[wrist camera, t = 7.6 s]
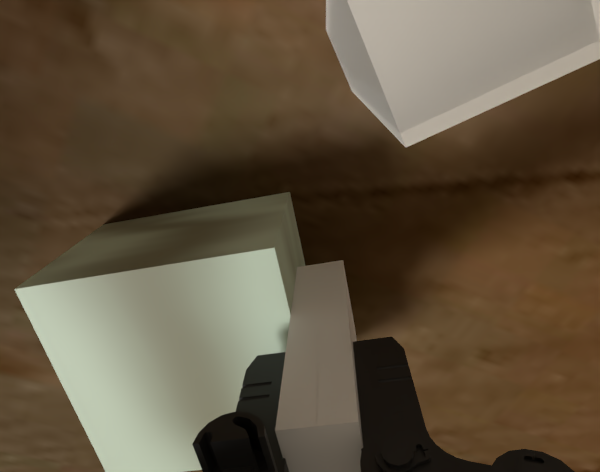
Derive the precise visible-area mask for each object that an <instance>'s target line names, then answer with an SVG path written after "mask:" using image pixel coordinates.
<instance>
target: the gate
mask: <svg viewBox="0 0 600 472" xmlns="http://www.w3.org/2000/svg"><path fill="white" fill-rule="evenodd" d="M326 31H327V34H328V36H329V38H330V41H331V43H332V45H333V48H334V50H335V52H336V55H337V57H338V60H339V62H340V64H341V67H342V69H343V71H344V74H345V76H346V78H347V81H348V83H349V86H350V88H351V90H352V92H353V93H354V94H355V95H356V96H357V97H358V98H359V99H360V100H361V101H362V102H363V103H364V104H365V105H366V107H367V108H368V109H369V110H370V111H371V112H372V113H373V114H374V115H375V116H376V117H377V118H378V119H379V120H380V121H381V122H382V123H383V124H384V125H385V126H386V127H387V129H388V130H389V131H390V132H391V133H392V134H393V135H394V136H395V137H396V138H397V139H398V140H399V141H400V142H401V143H402V144H403V145H404V146H405V147H408V146H410V145H413V144H415V143H417V142H419V141H421V140H424V139H426V138H428V137H430V136H432V135H435V134H437V133H439V132H441V131H443V130H446V129H448V128H450V127H452V126H454V125H456V124H459V123H461V122H463V121H465V120H467V119H470V118H472V117H474V116H476V115H478V114H481V113H483V112H485V111H487V110H489V109H491V108H494V107H496V106H498V105H500V104H502V103H505V102H507V101H509V100H511V99H513V98H516V97H518V96H520V95H522V94H524V93H527V92H529V91H531V90H533V89H535V88H537V87H540V86H542V85H544V84H546V83H548V82H551V81H553V80H555V79H557V78H559V77H562V76H564V75H566V74H568V73H570V72H572V71H575V70H577V69H579V68H581V67H583V66H586V65H588V64H590V63H592V62H594V61H597V60H599V59H600V0H326Z"/></svg>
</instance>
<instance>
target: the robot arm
mask: <svg viewBox="0 0 600 472" xmlns="http://www.w3.org/2000/svg"><path fill="white" fill-rule="evenodd" d="M242 386H243V388H241V392H240V396H239V401H238V404H237V408H236V412H232V413H228V414H224V415H221V416H219V417H218V418H216V419H214V420H212V421H211V422H209V423H208V424H207V425H206V426H205V427H204V428H203V429H202V430H201V431H200V432H199V433H198V435H197V436H196V438H195V440H194V442H193V444H192V445H193V447H194V450H195V453H196V455H197V458H198V460H199V463H200V466H201V468H202V471H203V472H574V471H573V470H572V469H570V468H569V467H568V466H567V465H566V464H564V463H563V462H562V461H561V460H559V459H557V458H554V457H552V456H550V455H548V454H546V453H544V452H539V451H533V450H528V449H521V450H513V451H508V452H506V453H505V454H503V455H501V456H499V457H498V458H496V460H495V462H494V463H493V465H492V466H491V465H486V464H480V463H475V462H470V461H466V460H463V459H459V458H456V457H454V456H452V455H450V454H448V453H446V452H445V451H443V450H442V449H441V448H440V447H438V446H437V445H436V444H435V443H434V441H433V440H432V439H431V438H430V436H429V434H428V432H427V430H426V427H425V423H424V420H423V416H422V412H421V409H420V405H419V402H418V398H417V394H416V391H415V387H414V384H413V380H412V377H411V373H410V369H409V367H408V362H407V358H406V355H405V351H404V348H403V347H402V346H401V345H400V344H399V343H398V342H397V341H396V340H395V339H394V338H393V337H386V338H378V339H371V340H363V341H357V339H356V331H355V325H354V319H353V314H352V308H351V302H350V297H349V291H348V285H347V280H346V274H345V268H344V262H343V260H340V261H334V262H327V263H321V264H314V265H308V266H301V267H297V271H296V279H295V286H294V294H293V301H292V308H291V316H290V323H289V331H288V338H287V346H286V352H281V353H273V354H265V355H258V356H256V358H255V359H254V360H253V362H252V363H251V364H250V365H249V367H248V368H247V369H246V373H245V376H244V380H243V384H242Z"/></svg>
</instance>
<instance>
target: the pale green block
mask: <svg viewBox="0 0 600 472" xmlns="http://www.w3.org/2000/svg"><path fill="white" fill-rule="evenodd" d="M301 266H305V261H304V256H303V251H302V247H301V242H300V237H299V233H298V228H297V223H296V218H295V214H294V209H293V204H292V200H291V195H290V192H286V193H281V194H275V195H269V196H263V197H258V198H252V199H246V200H241V201H235V202H229V203H223V204H218V205H212V206H206V207H201V208H195V209H189V210H183V211H178V212H172V213H166V214H161V215H155V216H149V217H144V218H138V219H132V220H126V221H121V222H115V223H109V224H104V225H102V226H101V227H99V228H98V229H96V230H95V231H94V232H92V233H91V234H90V235H88V236H87V237H85V238H84V239H83V240H81V241H80V242H79V243H77V244H76V245H74V246H73V247H72V248H70V249H69V250H68V251H66V252H65V253H63V254H62V255H61V256H59V257H58V258H57V259H55V260H54V261H52V262H51V263H50V264H48V265H47V266H46V267H44V268H43V269H41V270H40V271H39V272H37V273H36V274H35V275H33V276H32V277H30V278H29V279H28V280H26V281H25V282H24V283H22V284H21V285H19V286H18V287H17V288H15V291H16V293H17V295H18V297H19V299H20V301H21V303H22V305H23V307H24V309H25V311H26V313H27V315H28V317H29V319H30V321H31V323H32V325H33V327H34V329H35V331H36V333H37V335H38V337H39V339H40V341H41V343H42V345H43V347H44V349H45V351H46V353H47V355H48V357H49V359H50V361H51V363H52V365H53V367H54V369H55V371H56V373H57V375H58V377H59V379H60V381H61V383H62V385H63V387H64V389H65V391H66V393H67V395H68V397H69V399H70V401H71V403H72V405H73V407H74V409H75V411H76V413H77V415H78V417H79V419H80V421H81V423H82V425H83V427H84V429H85V431H86V433H87V435H88V437H89V439H90V441H91V443H92V445H93V447H94V449H95V451H96V453H97V456H98V458H99V460H100V462H101V464H102V466H103V468H104V470H105V472H184V471H194V470H202V468H201V466H200V463H199V460H198V458H197V455H196V453H195V450H194V447H193V445H192V444H193V442H194V440H195V438H196V436H197V435H198V433H199V432H200V431H201V430H202V429H203V428H204V427H205V426H206V425H207V424H208V423H209V422H211V421H212V420H214V419H216V418H218V417H219V416H221V415H224V414H228V413H232V412H236V408H237V404H238V401H239V396H240V392H241V388H243V386H242V384H243V380H244V376H245V373H246V369H247V368H248V367H249V365H250V364H251V363H252V362H253V360H254V359H255V358H256V356H258V355H265V354H273V353H281V352H286V346H287V338H288V331H289V323H290V316H291V308H292V301H293V294H294V286H295V279H296V271H297V267H301Z"/></svg>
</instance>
